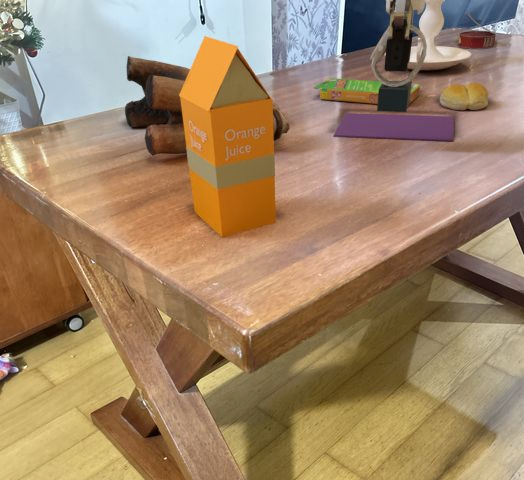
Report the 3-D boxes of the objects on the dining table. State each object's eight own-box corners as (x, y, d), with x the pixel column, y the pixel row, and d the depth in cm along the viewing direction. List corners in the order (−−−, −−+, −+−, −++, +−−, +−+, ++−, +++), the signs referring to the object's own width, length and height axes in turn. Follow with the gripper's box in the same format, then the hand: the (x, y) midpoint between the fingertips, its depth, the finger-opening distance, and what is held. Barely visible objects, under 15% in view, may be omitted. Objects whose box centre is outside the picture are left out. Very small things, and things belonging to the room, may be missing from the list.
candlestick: (370, 78, 128) (381, -71, 111) (393, 58, 146) (406, -74, 128) (460, 83, 121) (487, -76, 104) (473, 61, 139) (498, -78, 121)
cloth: (453, 118, 100) (453, 116, 100) (453, 141, 90) (453, 139, 89) (345, 114, 105) (345, 113, 105) (333, 136, 94) (333, 134, 94)
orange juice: (245, 199, 74) (235, 32, 62) (277, 222, 68) (272, 41, 56) (192, 212, 71) (171, 40, 59) (220, 237, 65) (202, 51, 53)
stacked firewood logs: (148, 67, 75) (309, 71, 84) (115, 54, 100) (243, 58, 108) (153, 162, 82) (302, 157, 90) (121, 128, 106) (241, 126, 115)
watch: (369, 101, 87) (375, 22, 80) (421, 103, 84) (431, 21, 78) (363, 110, 82) (369, 27, 76) (418, 112, 80) (428, 27, 74)
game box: (405, 111, 107) (311, 98, 115) (418, 99, 114) (328, 88, 121) (408, 94, 106) (312, 82, 113) (420, 84, 112) (329, 73, 119)
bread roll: (437, 100, 110) (440, 79, 108) (483, 100, 109) (488, 78, 106) (440, 111, 104) (444, 88, 101) (489, 111, 102) (494, 88, 100)
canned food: (465, 60, 162) (477, 24, 159) (495, 60, 155) (509, 22, 152) (445, 44, 154) (458, 6, 152) (476, 44, 147) (490, 4, 145)
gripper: (443, -95, 61) (420, 80, 73) (445, -93, 74) (425, 56, 85) (376, -91, 63) (364, 79, 74) (389, -90, 76) (377, 55, 87)
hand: (397, 65), depth 80 cm, fingers closed on watch, 4 cm apart
